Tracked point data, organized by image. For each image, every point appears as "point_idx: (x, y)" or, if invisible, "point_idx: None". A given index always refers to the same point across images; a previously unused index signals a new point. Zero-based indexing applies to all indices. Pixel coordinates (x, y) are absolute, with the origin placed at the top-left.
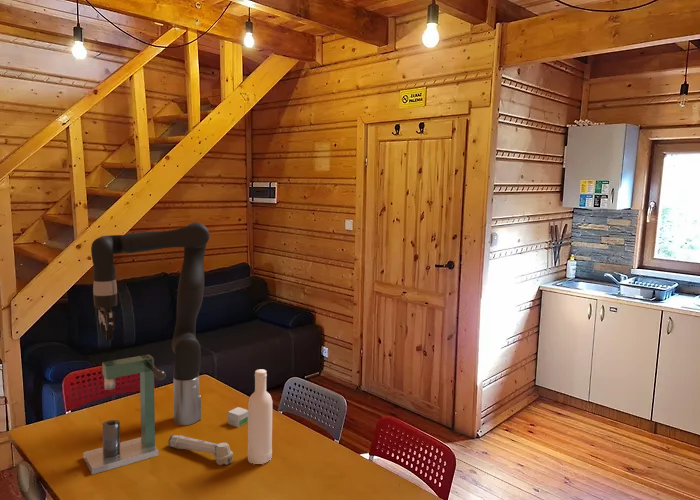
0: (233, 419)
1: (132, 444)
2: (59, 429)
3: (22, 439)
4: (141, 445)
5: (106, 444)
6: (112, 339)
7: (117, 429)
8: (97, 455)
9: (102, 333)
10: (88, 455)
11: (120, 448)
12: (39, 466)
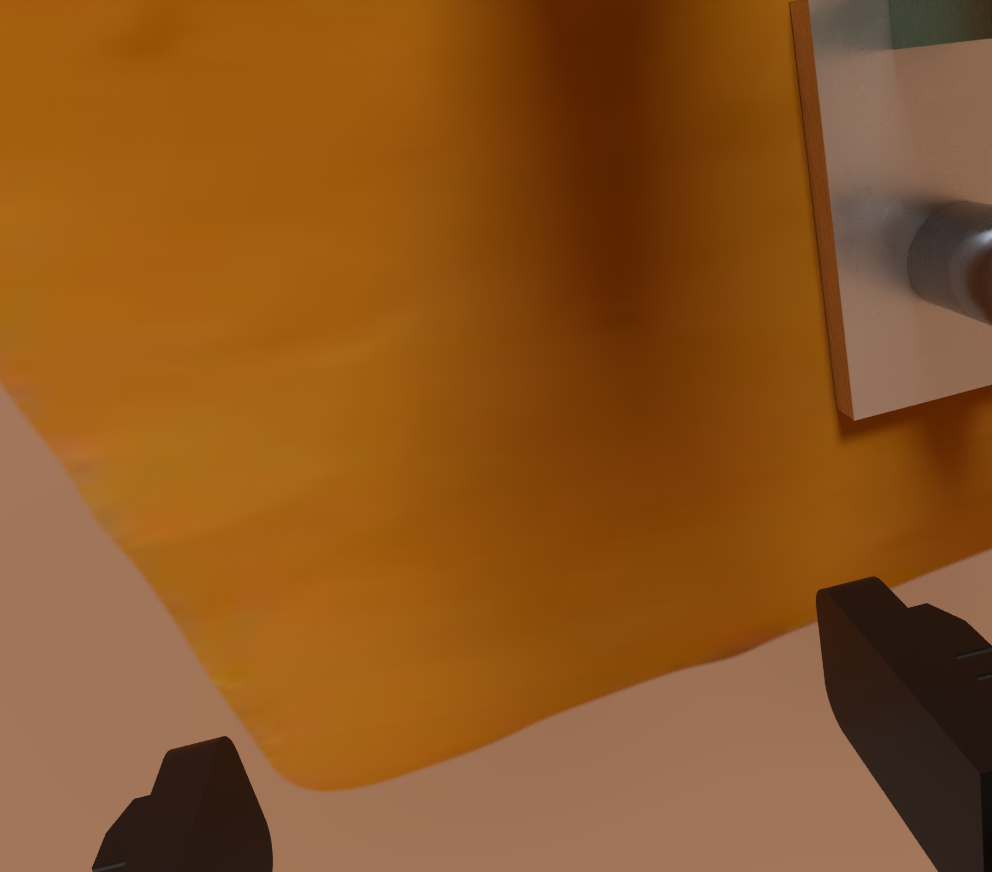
0: None
1: (900, 114)
2: (368, 578)
3: (443, 740)
4: (949, 50)
5: None
6: (867, 590)
7: None
8: (941, 338)
9: (257, 852)
10: (911, 388)
11: (920, 198)
12: None
